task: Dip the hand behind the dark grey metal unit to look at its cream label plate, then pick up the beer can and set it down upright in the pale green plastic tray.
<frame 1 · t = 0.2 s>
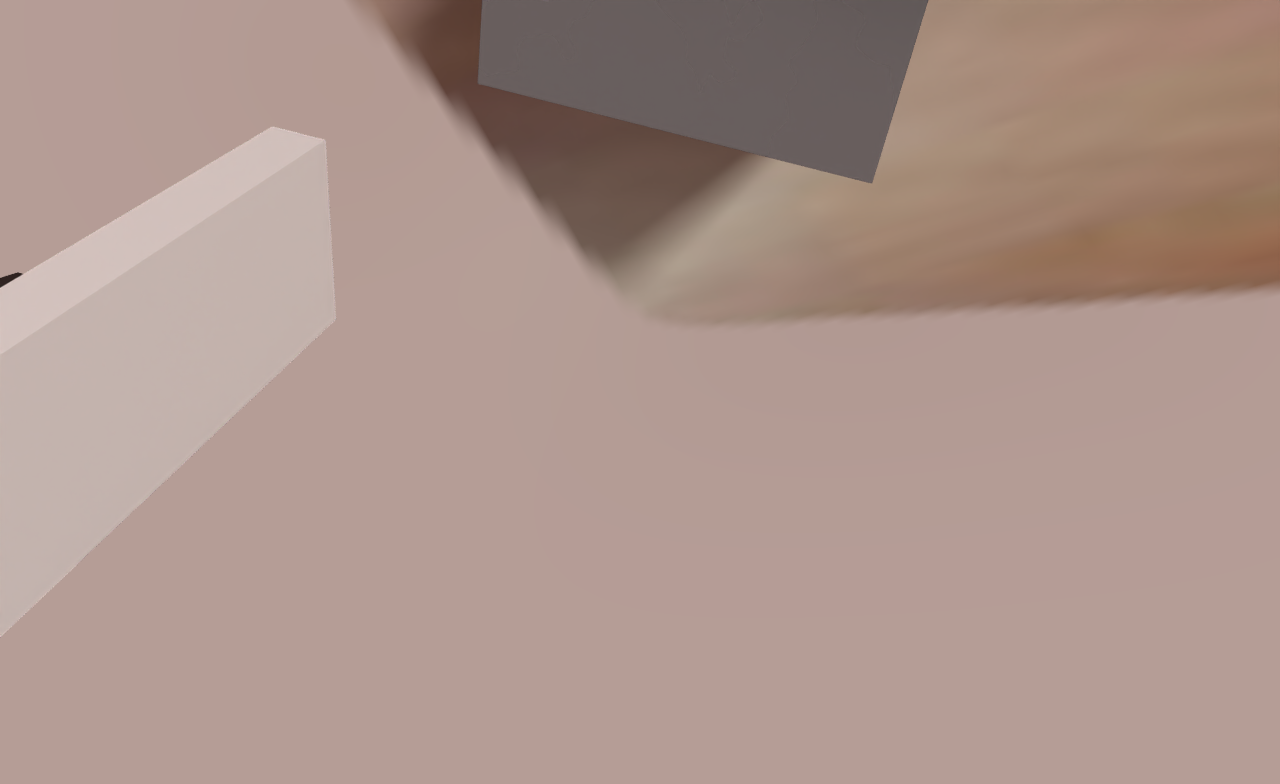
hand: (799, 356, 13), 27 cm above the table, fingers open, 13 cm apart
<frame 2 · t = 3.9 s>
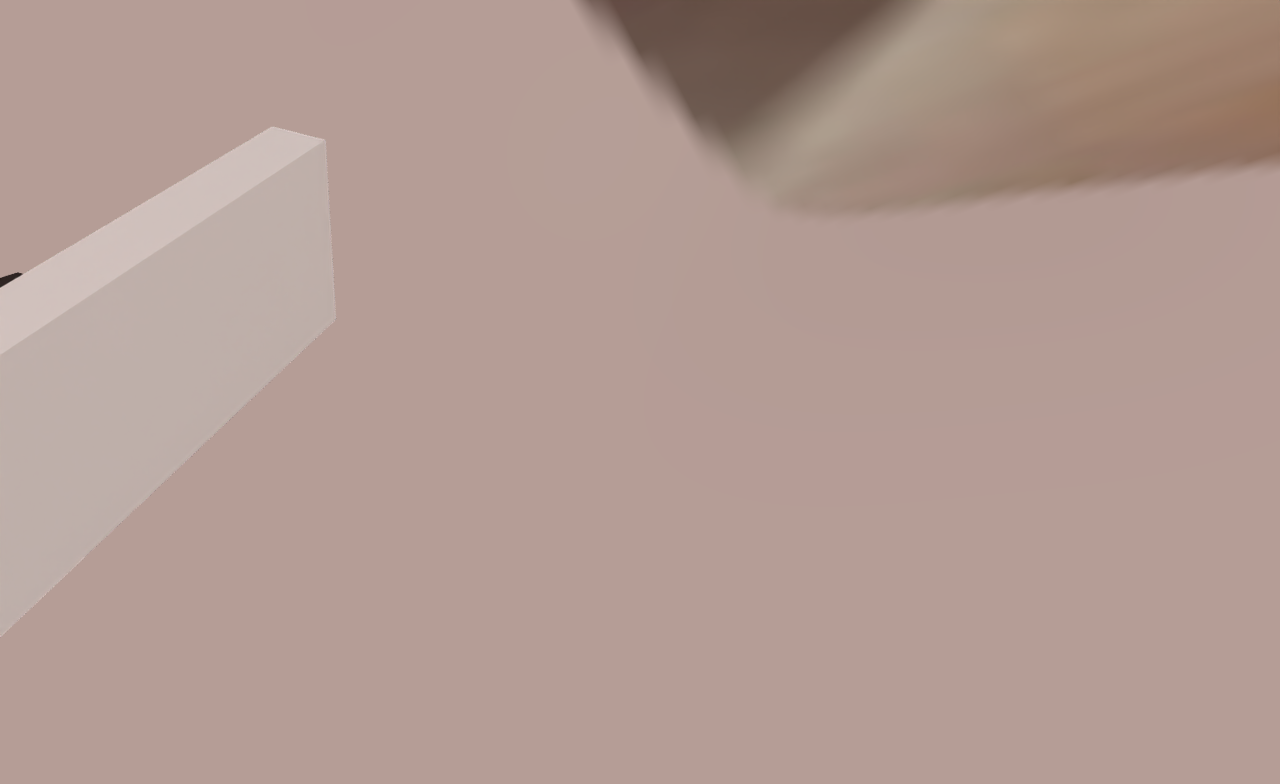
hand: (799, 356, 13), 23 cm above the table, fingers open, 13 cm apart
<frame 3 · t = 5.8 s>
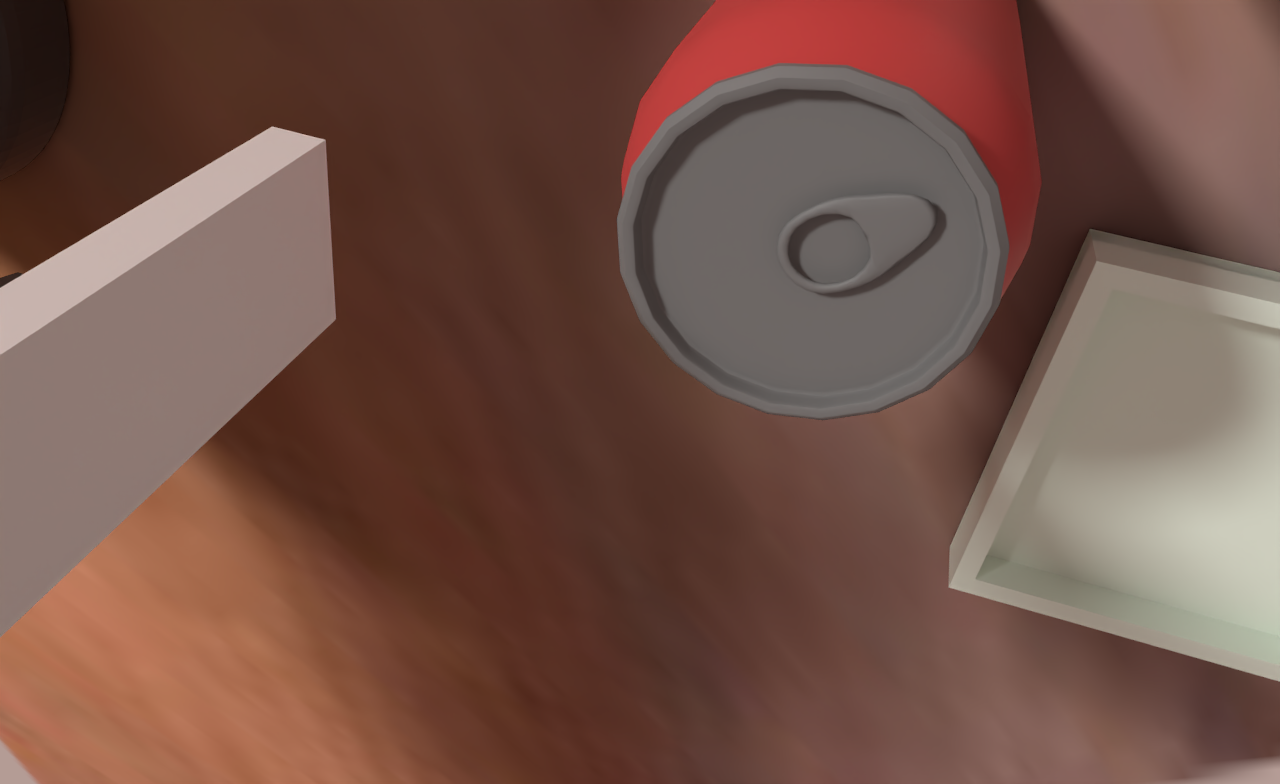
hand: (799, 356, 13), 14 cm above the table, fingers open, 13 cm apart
beer can: (871, 34, 24), on the table
tray: (1218, 459, 28), on the table
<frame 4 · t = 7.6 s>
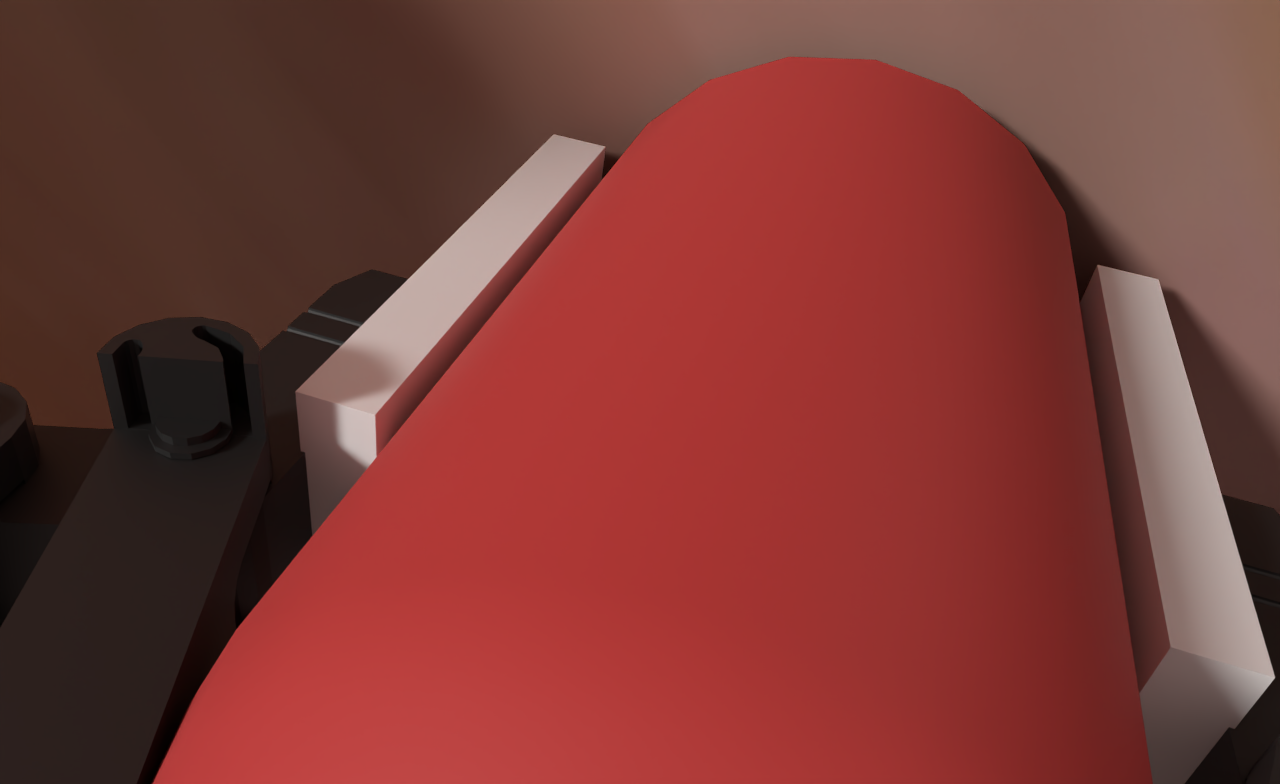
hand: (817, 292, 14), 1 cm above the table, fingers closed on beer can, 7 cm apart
beer can: (824, 270, 15), on the table, touching gripper
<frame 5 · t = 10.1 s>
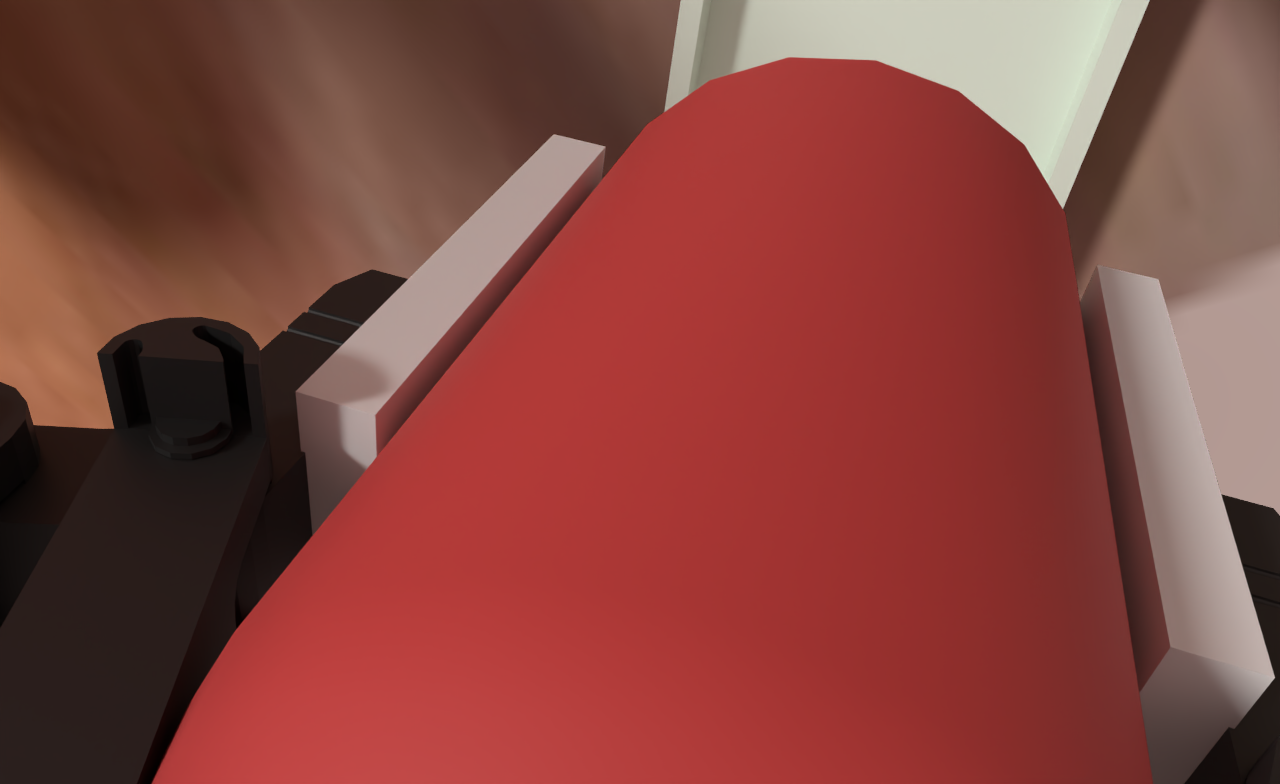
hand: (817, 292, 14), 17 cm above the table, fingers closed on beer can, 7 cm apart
beer can: (824, 271, 15), point 16 cm above the table, touching gripper
tray: (899, 6, 27), on the table
when the fingers open (2 cm above the table, at t = 12.9 s): beer can drops 1 cm, resting on tray.
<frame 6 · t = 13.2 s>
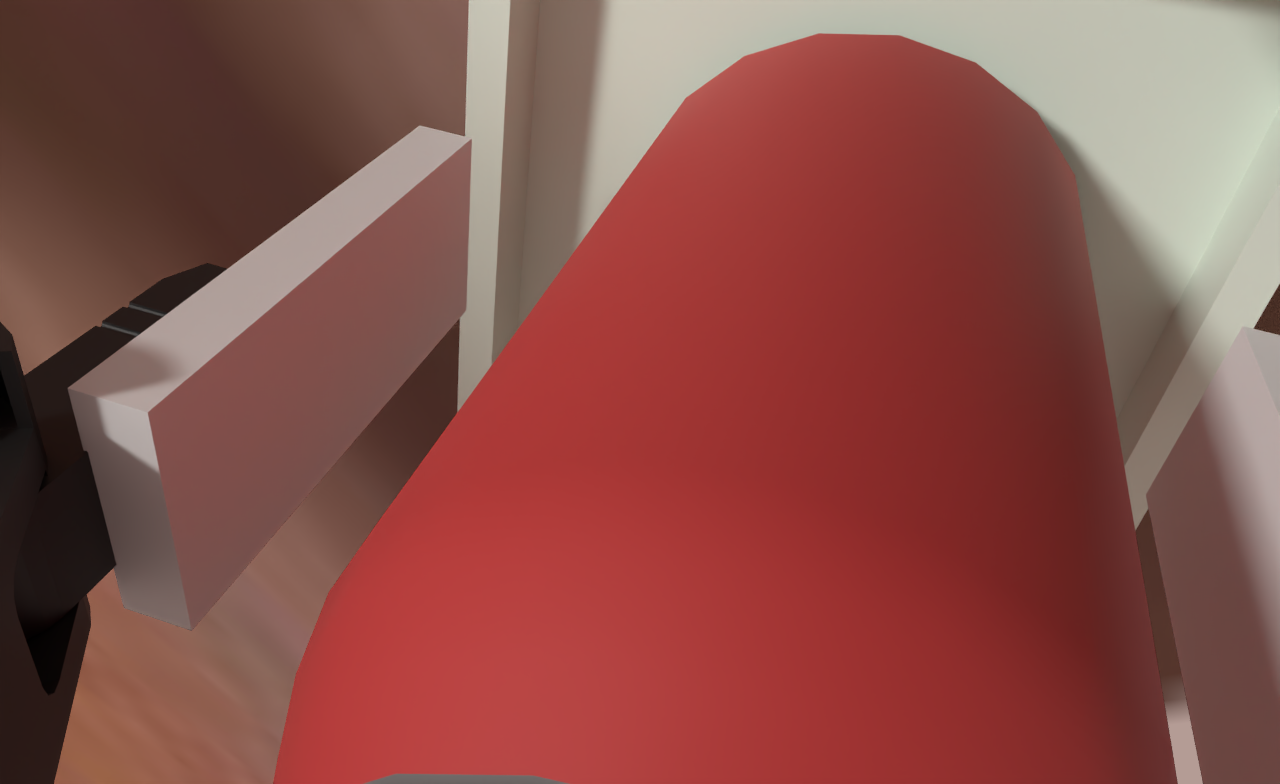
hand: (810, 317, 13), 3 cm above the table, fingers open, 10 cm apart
beer can: (849, 234, 16), resting on tray
tray: (838, 219, 16), on the table
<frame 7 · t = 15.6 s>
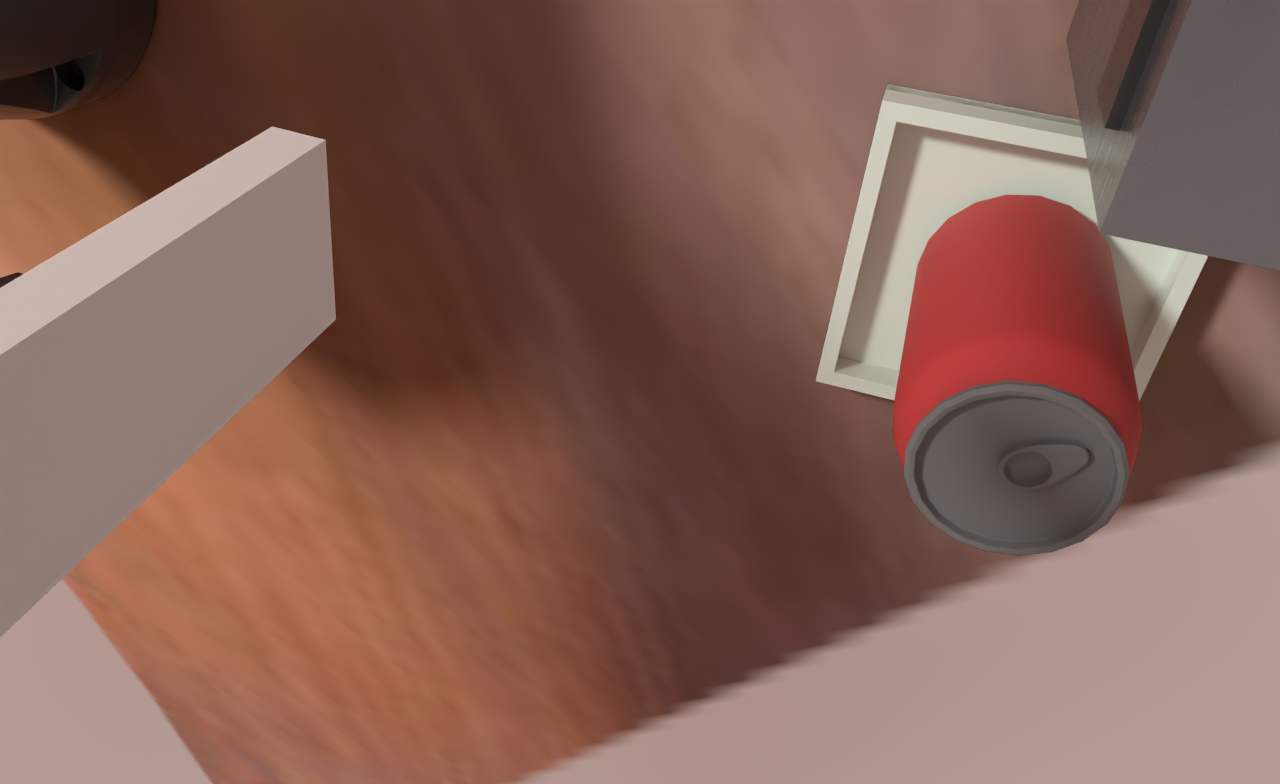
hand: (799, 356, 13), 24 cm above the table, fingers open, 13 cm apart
beer can: (1012, 272, 36), resting on tray
tray: (1005, 265, 36), on the table
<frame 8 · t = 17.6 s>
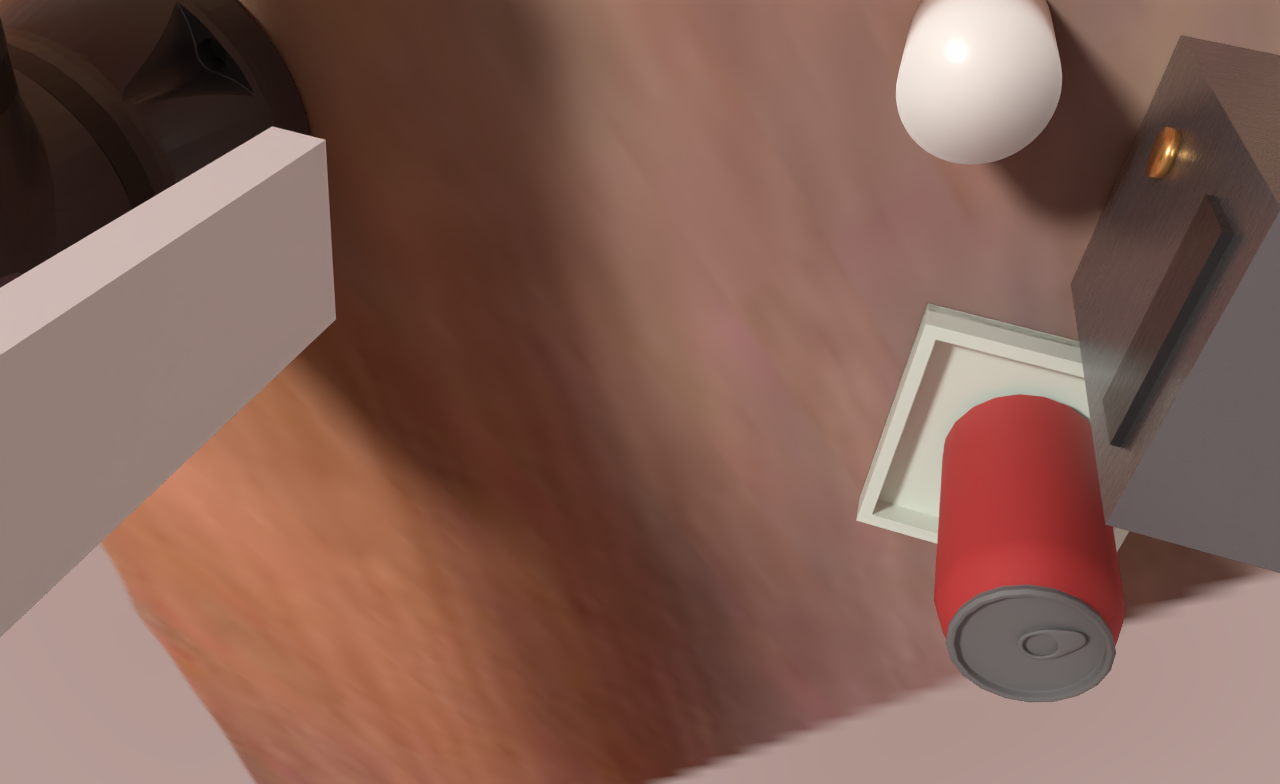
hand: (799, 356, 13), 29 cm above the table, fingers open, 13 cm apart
unit: (1246, 197, 37), on the table
white egg: (978, 38, 37), on the table
beer can: (1019, 446, 45), resting on tray
tray: (1014, 439, 45), on the table
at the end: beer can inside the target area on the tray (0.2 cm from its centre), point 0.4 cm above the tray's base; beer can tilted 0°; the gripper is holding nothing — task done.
